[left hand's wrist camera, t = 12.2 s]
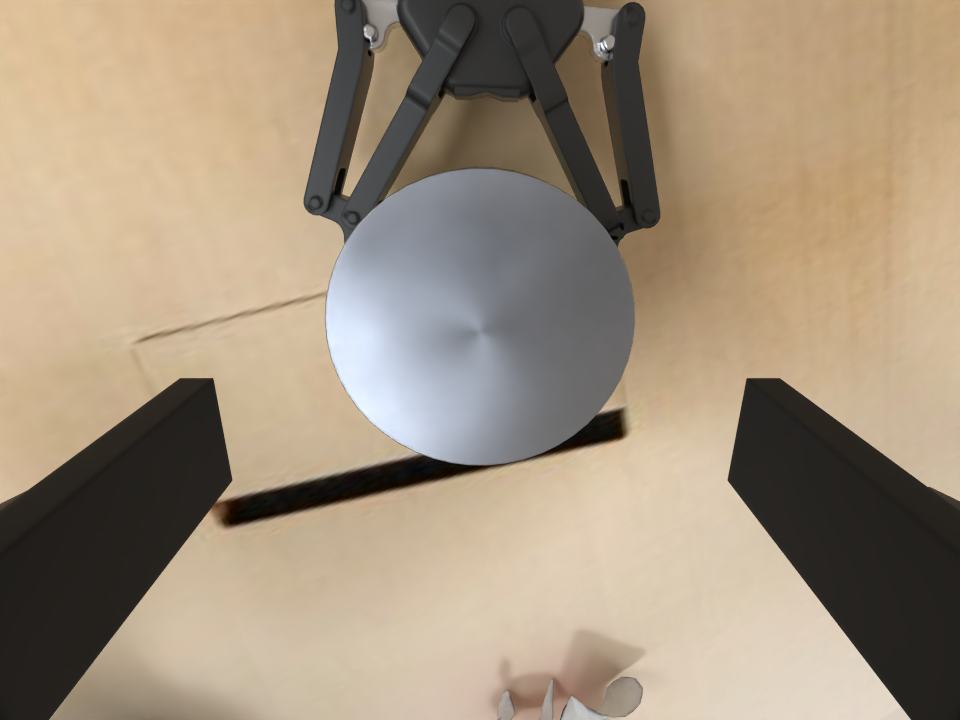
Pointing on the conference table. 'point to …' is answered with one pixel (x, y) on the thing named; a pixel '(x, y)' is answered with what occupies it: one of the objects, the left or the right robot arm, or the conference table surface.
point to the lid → (479, 316)
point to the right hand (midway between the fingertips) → (477, 350)
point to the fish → (575, 715)
